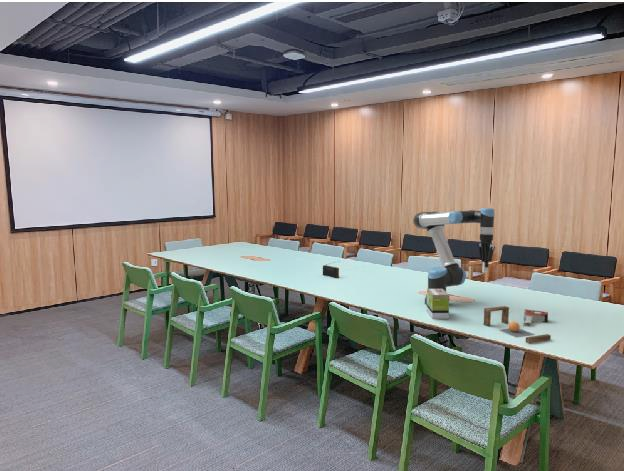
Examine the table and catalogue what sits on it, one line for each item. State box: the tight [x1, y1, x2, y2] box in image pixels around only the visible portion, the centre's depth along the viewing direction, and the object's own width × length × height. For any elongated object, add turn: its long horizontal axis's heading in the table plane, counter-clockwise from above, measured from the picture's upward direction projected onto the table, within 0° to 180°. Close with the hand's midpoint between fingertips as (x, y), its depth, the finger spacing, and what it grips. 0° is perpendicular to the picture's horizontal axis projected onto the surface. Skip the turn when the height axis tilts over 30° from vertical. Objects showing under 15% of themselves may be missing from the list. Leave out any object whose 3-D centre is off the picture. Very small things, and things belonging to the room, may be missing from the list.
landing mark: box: [499, 327, 535, 338], centre depth 234 cm, size 12×12×1 cm
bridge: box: [483, 305, 510, 327], centre depth 248 cm, size 3×14×9 cm, turn 110°
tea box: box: [426, 288, 450, 320], centre depth 264 cm, size 15×10×15 cm, turn 178°
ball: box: [508, 321, 521, 332], centre depth 235 cm, size 6×6×6 cm
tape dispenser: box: [522, 308, 549, 328], centre depth 253 cm, size 18×5×20 cm
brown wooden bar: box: [525, 333, 552, 344], centre depth 221 cm, size 2×14×2 cm, turn 110°
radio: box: [322, 261, 340, 279], centre depth 373 cm, size 19×3×15 cm, turn 43°
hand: (484, 272), depth 270 cm, fingers closed
